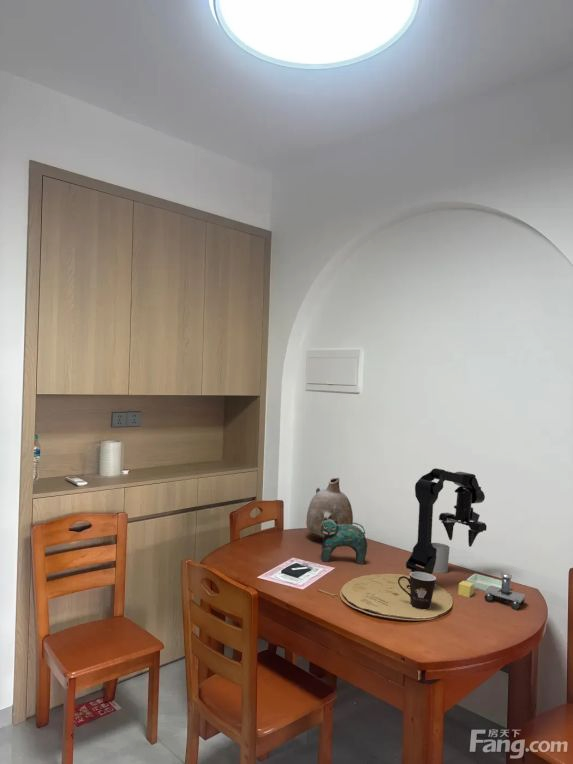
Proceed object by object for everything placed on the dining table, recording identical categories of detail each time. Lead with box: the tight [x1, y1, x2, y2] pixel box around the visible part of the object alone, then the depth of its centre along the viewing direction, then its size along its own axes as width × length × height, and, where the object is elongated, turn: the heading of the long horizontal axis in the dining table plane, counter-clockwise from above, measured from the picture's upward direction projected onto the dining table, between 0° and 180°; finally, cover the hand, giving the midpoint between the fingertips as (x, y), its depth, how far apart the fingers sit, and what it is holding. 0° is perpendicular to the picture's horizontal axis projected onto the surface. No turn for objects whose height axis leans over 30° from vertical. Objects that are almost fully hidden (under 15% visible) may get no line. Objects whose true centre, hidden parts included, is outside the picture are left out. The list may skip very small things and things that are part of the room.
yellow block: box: [457, 580, 475, 598], centre depth 200 cm, size 5×4×4 cm
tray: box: [465, 573, 512, 593], centre depth 210 cm, size 11×14×2 cm
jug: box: [305, 477, 354, 540], centre depth 256 cm, size 24×21×30 cm
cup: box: [431, 542, 450, 574], centre depth 227 cm, size 8×8×10 cm
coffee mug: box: [397, 571, 437, 610], centre depth 186 cm, size 12×9×10 cm
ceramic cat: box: [320, 513, 368, 565], centre depth 226 cm, size 20×6×20 cm, turn 92°
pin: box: [499, 572, 513, 605], centre depth 196 cm, size 4×4×10 cm
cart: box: [484, 585, 526, 611], centre depth 196 cm, size 12×9×4 cm
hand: (460, 543), depth 218 cm, fingers open, 9 cm apart
